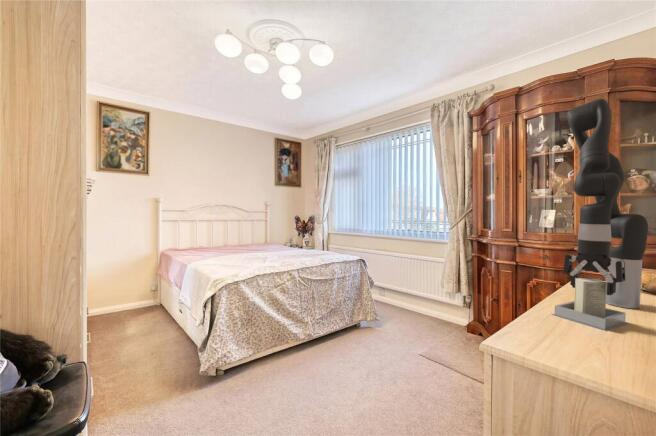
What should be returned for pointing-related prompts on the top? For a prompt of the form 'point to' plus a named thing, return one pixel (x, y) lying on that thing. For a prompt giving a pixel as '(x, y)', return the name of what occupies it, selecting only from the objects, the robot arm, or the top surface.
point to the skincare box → (590, 296)
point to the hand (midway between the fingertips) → (591, 291)
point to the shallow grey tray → (590, 316)
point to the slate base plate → (596, 327)
